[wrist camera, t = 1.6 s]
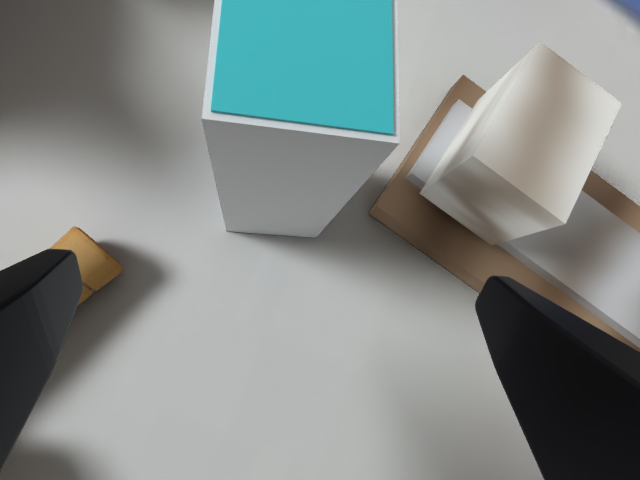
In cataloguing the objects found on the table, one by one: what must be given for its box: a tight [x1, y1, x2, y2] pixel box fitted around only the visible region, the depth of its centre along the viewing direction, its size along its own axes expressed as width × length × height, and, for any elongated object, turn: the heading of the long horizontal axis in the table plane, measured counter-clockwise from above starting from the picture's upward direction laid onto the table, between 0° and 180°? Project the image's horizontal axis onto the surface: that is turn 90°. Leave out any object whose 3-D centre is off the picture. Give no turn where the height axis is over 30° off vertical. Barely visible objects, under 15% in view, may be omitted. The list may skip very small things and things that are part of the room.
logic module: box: [202, 0, 399, 238], centre depth 16 cm, size 5×5×12 cm
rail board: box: [368, 42, 640, 352], centre depth 21 cm, size 25×11×7 cm, turn 56°
